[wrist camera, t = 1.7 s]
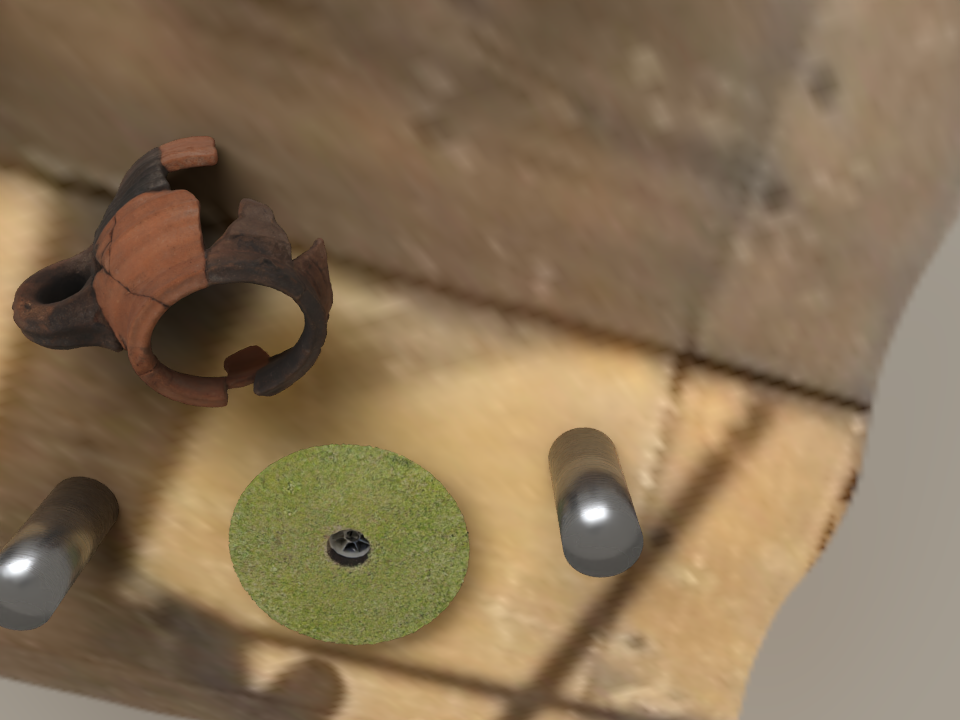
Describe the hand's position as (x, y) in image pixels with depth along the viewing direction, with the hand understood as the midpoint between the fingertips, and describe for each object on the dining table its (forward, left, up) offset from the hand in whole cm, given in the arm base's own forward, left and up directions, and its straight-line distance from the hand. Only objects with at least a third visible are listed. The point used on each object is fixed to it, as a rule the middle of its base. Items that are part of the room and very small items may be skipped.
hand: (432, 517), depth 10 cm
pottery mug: (-13, -2, -28) cm, 31 cm away
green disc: (-7, -18, -27) cm, 33 cm away
